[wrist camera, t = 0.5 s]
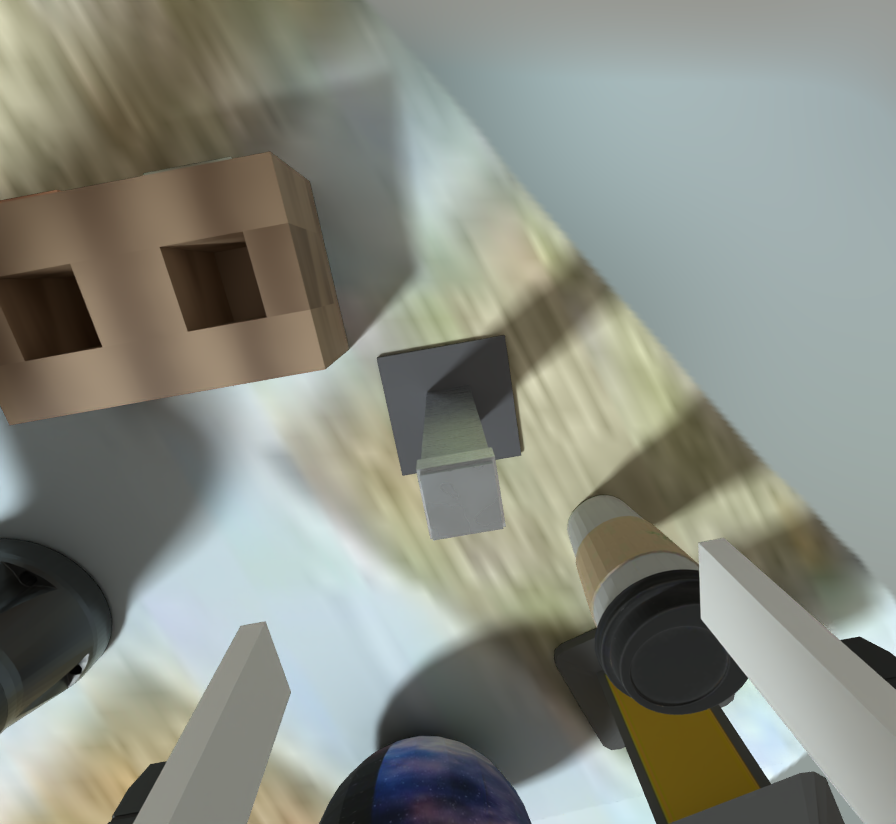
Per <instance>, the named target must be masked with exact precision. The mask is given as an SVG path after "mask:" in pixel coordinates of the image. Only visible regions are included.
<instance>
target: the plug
mask: <svg viewBox="0 0 896 824" xmlns="http://www.w3.org/2000/svg"><path fill="white" fill-rule="evenodd" d="M416 472H417V477H418V482H419V486H420V491H421V496H422V501H423V505H424V510H425V515H426V520H427V524H428V529H429V534H430V539H433V540H438V539H444V538H450V537H456V536H462V535H468V534H474V533H480V532H486V531H492V530H498V529H503V527H506V525H505V519H504V512H503V506H502V499H501V493H500V486H499V480H498V474H497V467H496V461H495V455H494V452H493V449H492V447H490V448H488V445H487V442H486V438H485V435H484V432H483V428H482V425H481V422H480V419H479V415H478V412H477V409H476V405H475V402H474V399H473V396H472V392H471V389H470V386H469V385H463V386H458V387H452V388H446V389H440V390H435V391H429V392H427V394H426V406H425V418H424V429H423V441H422V453H421V459H420V460H417V466H416Z"/></svg>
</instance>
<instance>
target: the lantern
mask: <svg viewBox="0 0 896 824" xmlns="http://www.w3.org/2000/svg"><path fill="white" fill-rule="evenodd" d="M596 629H597V628H596ZM596 629H594V630H591V631H589V632H587V633H585V634H582V635H580V636H578V637H576V638H573V639H571V640H569V641H567V642H564V643H562V644H561V645H559V646H558V647H557V648H556V649H555V654H554V660H555V663H556V666H557V668H558V670H559V671H560V673H561V675H562V677H563V678H564V680H565V682H566V683H567V685H568V687H569V688H570V690H571V692H572V694H573V695H574V697H575V699H576V700H577V702H578V704H579V705H580V707H581V709H582V710H583V712H584V714H585V716H586V717H587V719H588V721H589V722H590V724H591V726H592V727H593V729H594V731H595V732H596V734H597V736H598V738H599V739H600V741H601V743H602V744H603V746H605V747H607V748H609V749H611V750H616V749H621V748H624V747H626V749H627V752H628V754H629V757H630V759H631V762H632V764H633V767H634V769H635V772H636V774H637V777H638V779H639V782H640V784H641V787H642V789H643V792H644V794H645V797H646V799H647V802H648V804H649V807H650V809H651V812H652V814H653V817H654V819H655V821H656V824H845V823H844V821H843V819H842V816H841V814H840V811H839V809H838V807H837V804H836V802H835V799H834V797H833V794H832V792H831V790H830V787H829V785H828V782H827V780H826V778H825V777H823V776H821V775H819V774H817V773H816V772H807V773H799V774H797V775H794V776H792V777H789V778H786V779H784V780H781V781H779V782H776V783H773V784H771V783H770V782H769V780H768V779H767V777H766V776H765V774H764V773H763V771H762V770H761V768H760V766H759V765H758V763H757V762H756V760H755V759H754V757H753V756H752V754H751V753H750V751H749V750H748V748H747V747H746V745H745V744H744V742H743V741H742V739H741V738H740V736H739V735H738V733H737V732H736V730H735V729H734V727H733V726H732V724H731V723H730V721H729V719H728V718H727V716H726V715H725V713H724V712H723V710H722V709H721V708H722V707H724V706H726V705H728V704H729V703H730V702H731V701H733V699H734V695H735V694H734V695H732V696H731V697H730V698H728V699H727V700H725V701H724V702H722V703H720V704H718V705H716V706H714V707H712V708H710V709H707V710H704V711H701V712H697V713H692V714H684V715H670V714H663V713H658V712H655V711H652V710H649V709H647V708H645V707H643V706H642V705H640V704H639V703H637V702H636V701H635V700H634V699H633V698H631V697H629V696H627V695H625V694H624V693H622V692H621V691H620V690H619V689H617V688H616V687H615V686H614V685H613V684H612V682H611V681H610V680H609V678H608V677H607V675H606V674H605V673H604V671H603V670H602V668H601V666H600V664H599V662H598V660H597V657H596V652H595V634H596Z"/></svg>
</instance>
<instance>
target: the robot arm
mask: <svg viewBox="0 0 896 824" xmlns="http://www.w3.org/2000/svg"><path fill="white" fill-rule="evenodd" d="M698 547H699V577H700V607H701V619H702V621H703V622H704V623H705V624H706V626H707V627H708V628H709V629H710V631H711V632H712V633H713V634H714V636H715V637H716V638H717V639H718V641H719V642H720V643H721V644H722V646H723V647H724V648H725V649H726V651H727V652H728V653H729V654H730V656H731V657H732V658H733V660H734V661H735V662H736V663H737V665H738V666H739V667H740V668H741V670H742V671H743V672H744V673H745V675H746V676H747V677H748V678H749V680H750V681H751V682H752V683H753V685H754V686H755V687H756V688H757V690H758V691H759V692H760V693H761V695H762V696H763V697H764V698H765V700H766V701H767V702H768V704H769V705H770V706H771V707H772V709H773V710H774V711H775V712H776V714H777V715H778V716H779V717H780V719H781V720H782V721H783V722H784V724H785V725H786V726H787V727H788V729H789V730H790V731H791V732H792V734H793V735H794V736H795V737H796V739H797V740H798V741H799V742H800V744H801V745H802V746H803V748H804V749H805V750H806V751H807V753H808V754H809V755H810V756H811V758H812V759H813V760H814V761H815V763H816V764H817V765H818V766H819V768H820V769H821V770H822V771H823V773H824V774H825V775H826V776H827V778H828V779H829V780H830V781H831V783H832V784H833V785H834V786H835V788H836V789H837V790H838V791H839V793H840V794H841V795H842V797H843V798H844V799H845V800H846V801H847V803H848V804H849V805H850V807H851V808H852V809H853V810H854V811H855V813H856V814H857V815H858V817H859V818H860V819H861V820H862V822H863V823H864V824H896V657H895V656H894V655H893V654H891V653H890V652H888V651H886V650H884V649H883V648H881V647H879V646H877V645H875V644H873V643H871V642H869V641H867V640H865V639H863V638H862V637H855V638H849V639H843V640H839V639H838V638H837V637H836V636H835V635H833V634H832V633H831V632H830V631H829V630H828V629H827V628H825V627H824V626H823V625H822V624H821V623H820V622H819V621H818V620H816V619H815V618H814V617H813V616H812V615H811V614H810V613H808V612H807V611H806V610H805V609H804V608H803V607H802V606H801V605H799V604H798V603H797V602H796V601H795V600H794V599H793V598H792V597H790V596H789V595H788V594H787V593H786V592H785V591H784V590H782V589H781V588H780V587H779V586H778V585H777V584H776V583H775V582H773V581H772V580H771V579H770V578H769V577H768V576H767V575H765V574H764V573H763V572H762V571H761V570H760V569H759V568H758V567H756V566H755V565H754V564H753V563H752V562H751V561H750V560H749V559H747V558H746V557H745V556H744V555H743V554H742V553H741V552H739V551H738V550H737V549H736V548H735V547H734V546H733V545H732V544H730V543H729V542H728V541H727V540H726V539H725V538H720V539H715V540H709V541H704V542H698ZM111 626H112V625H111V615H110V611H109V607H108V604H107V602H106V599H105V597H104V596H103V594H102V592H101V590H100V589H99V587H98V586H97V584H96V583H95V582H94V581H93V580H92V578H91V577H90V576H89V575H88V574H87V573H86V572H85V571H84V570H83V569H81V568H80V567H79V566H78V565H77V564H75V563H74V562H73V561H71V560H70V559H68V558H66V557H65V556H63V555H61V554H59V553H58V552H56V551H54V550H51V549H49V548H47V547H44V546H41V545H38V544H35V543H31V542H27V541H21V540H14V539H0V734H1V733H2V732H3V731H4V730H5V729H6V728H7V727H9V726H11V725H12V724H14V723H15V722H17V721H18V720H20V719H21V718H23V717H24V716H26V715H28V714H29V713H31V712H32V711H34V710H35V709H37V708H38V707H40V706H41V705H43V704H45V703H46V702H48V701H49V700H51V699H52V698H54V697H55V696H57V695H58V694H60V693H62V692H63V691H65V690H66V689H68V688H69V687H71V686H72V685H73V684H75V683H76V682H77V681H78V680H79V679H81V678H82V677H83V676H84V675H85V673H86V672H87V671H88V670H89V669H90V668H91V667H92V666H93V664H94V663H95V662H96V661H97V660H98V659H99V658H100V657H101V655H102V654H103V652H104V651H105V649H106V647H107V645H108V642H109V640H110V636H111ZM290 694H291V691H290V688H289V685H288V682H287V680H286V677H285V674H284V671H283V668H282V666H281V663H280V660H279V657H278V655H277V652H276V649H275V646H274V644H273V641H272V638H271V635H270V632H269V630H268V627H267V624H266V621H265V622H259V623H254V624H248V625H243V626H240V628H239V630H238V632H237V634H236V635H235V637H234V639H233V641H232V643H231V645H230V646H229V648H228V650H227V652H226V654H225V656H224V657H223V659H222V661H221V663H220V665H219V667H218V668H217V670H216V672H215V674H214V676H213V678H212V679H211V681H210V683H209V685H208V687H207V689H206V690H205V692H204V694H203V696H202V698H201V700H200V701H199V703H198V705H197V707H196V709H195V711H194V713H193V714H192V716H191V718H190V720H189V722H188V724H187V725H186V727H185V729H184V731H183V733H182V735H181V736H180V738H179V740H178V742H177V744H176V746H175V747H174V749H173V751H172V753H171V755H170V757H169V758H168V760H167V761H166V762H160V763H155V764H150V765H149V767H148V768H147V769H146V770H145V771H144V772H143V773H142V774H141V775H140V777H139V778H138V779H137V780H136V781H135V782H134V783H133V784H132V785H131V787H130V788H129V789H128V790H127V792H126V794H125V795H124V797H123V799H122V801H121V802H120V804H119V806H118V807H117V809H116V811H115V812H114V814H113V816H112V821H111V822H109V823H108V824H247V822H248V819H249V816H250V813H251V810H252V807H253V804H254V801H255V798H256V795H257V792H258V789H259V786H260V783H261V780H262V777H263V774H264V771H265V768H266V765H267V762H268V759H269V756H270V753H271V750H272V747H273V744H274V741H275V738H276V735H277V732H278V729H279V726H280V723H281V720H282V717H283V714H284V711H285V708H286V706H287V703H288V700H289V697H290Z"/></svg>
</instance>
